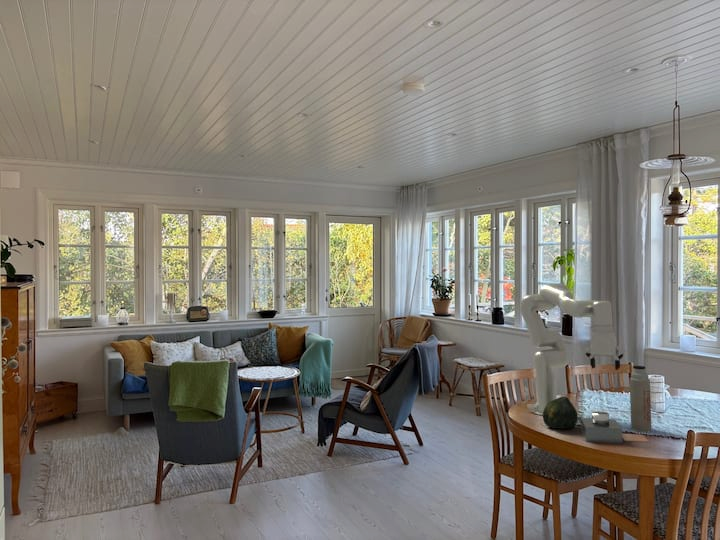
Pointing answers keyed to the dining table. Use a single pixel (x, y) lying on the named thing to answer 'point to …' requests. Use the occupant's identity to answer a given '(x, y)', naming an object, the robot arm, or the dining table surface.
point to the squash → (560, 414)
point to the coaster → (634, 437)
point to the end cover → (600, 418)
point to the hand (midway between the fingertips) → (605, 368)
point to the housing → (601, 431)
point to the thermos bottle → (640, 399)
